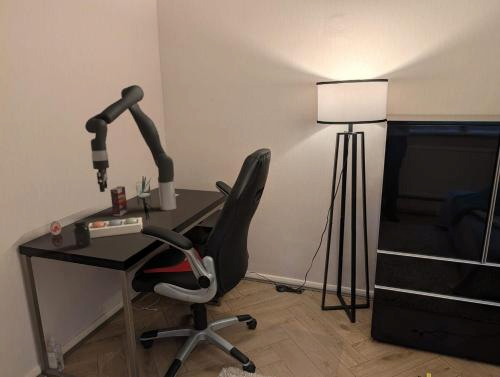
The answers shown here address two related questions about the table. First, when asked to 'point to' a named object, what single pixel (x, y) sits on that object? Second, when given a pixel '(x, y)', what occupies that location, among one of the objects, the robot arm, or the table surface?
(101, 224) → the button terracotta
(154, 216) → the table surface
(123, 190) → the supplement box
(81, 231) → the supplement bottle
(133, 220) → the button sage
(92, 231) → the button box
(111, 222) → the button slate
